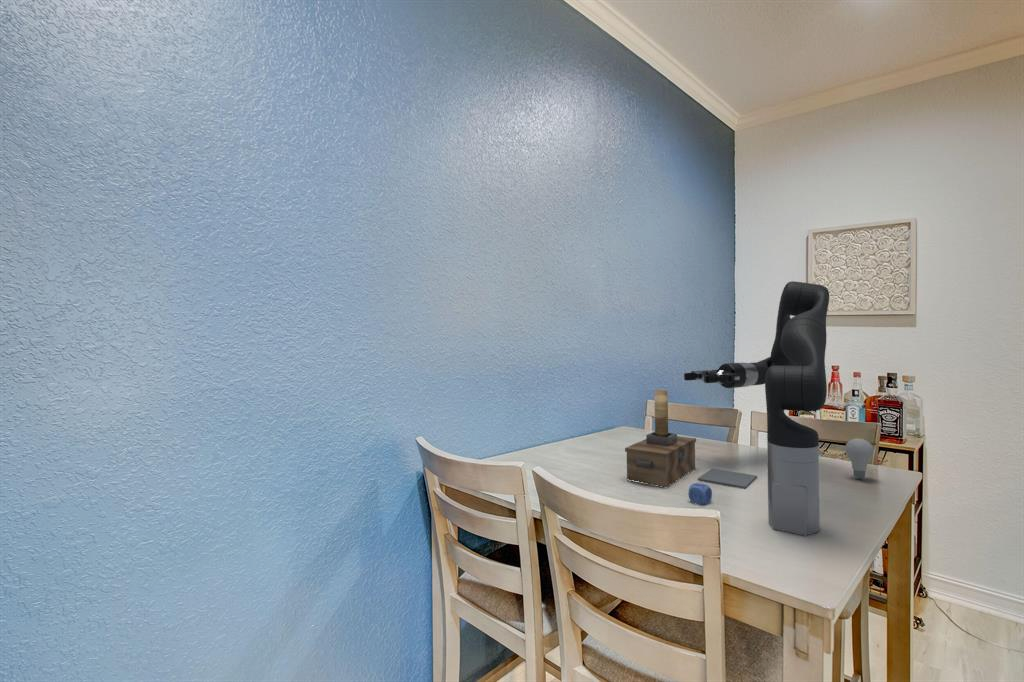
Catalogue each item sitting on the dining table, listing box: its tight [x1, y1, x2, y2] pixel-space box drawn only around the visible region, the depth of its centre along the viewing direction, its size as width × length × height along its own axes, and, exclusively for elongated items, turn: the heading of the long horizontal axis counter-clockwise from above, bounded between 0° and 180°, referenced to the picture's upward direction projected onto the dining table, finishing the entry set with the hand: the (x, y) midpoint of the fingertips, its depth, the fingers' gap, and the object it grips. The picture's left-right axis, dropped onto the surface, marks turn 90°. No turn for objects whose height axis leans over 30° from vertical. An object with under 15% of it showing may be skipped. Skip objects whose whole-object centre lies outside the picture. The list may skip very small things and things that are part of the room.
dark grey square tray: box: [645, 431, 678, 447], centre depth 138 cm, size 6×6×2 cm
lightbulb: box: [844, 437, 874, 480], centre depth 129 cm, size 6×6×11 cm
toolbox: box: [624, 435, 697, 488], centre depth 138 cm, size 25×12×9 cm, turn 140°
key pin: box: [654, 389, 669, 437], centre depth 137 cm, size 4×4×15 cm
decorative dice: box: [688, 482, 713, 506], centre depth 115 cm, size 4×4×4 cm
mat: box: [697, 467, 758, 490], centre depth 132 cm, size 12×12×1 cm
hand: (694, 378), depth 141 cm, fingers open, 8 cm apart
